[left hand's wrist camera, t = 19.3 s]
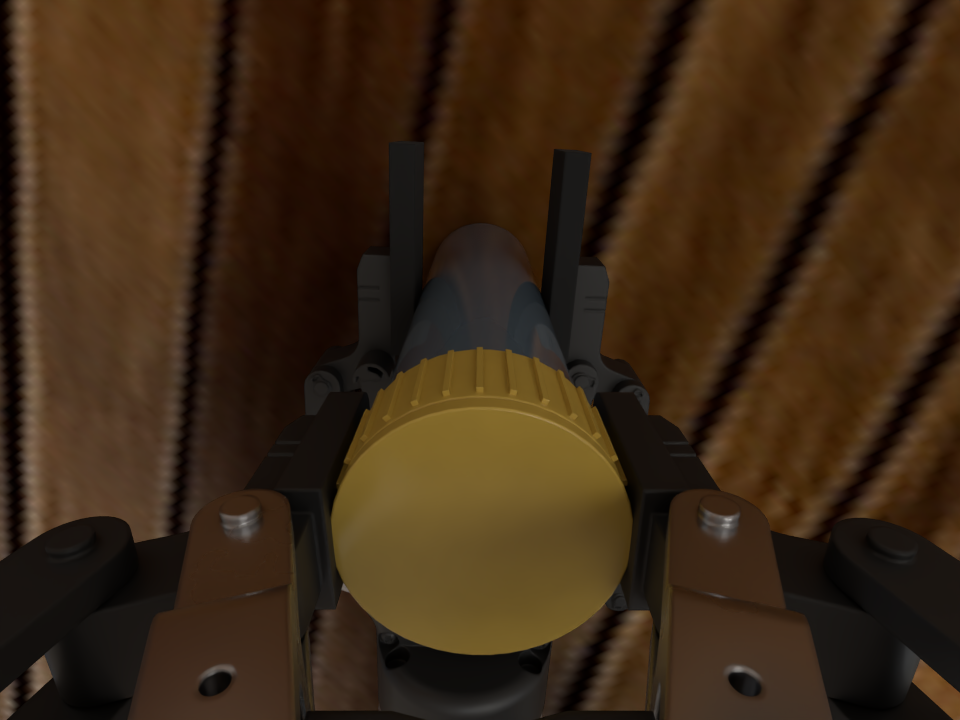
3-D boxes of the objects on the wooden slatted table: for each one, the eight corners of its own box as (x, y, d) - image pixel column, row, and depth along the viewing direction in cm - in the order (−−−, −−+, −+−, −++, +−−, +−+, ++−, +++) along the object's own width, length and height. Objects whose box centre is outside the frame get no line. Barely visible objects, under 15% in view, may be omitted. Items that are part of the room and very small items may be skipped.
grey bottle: (539, 303, 26) (635, 588, 10) (449, 328, 27) (399, 639, 10) (515, 210, 25) (581, 368, 8) (419, 238, 25) (309, 439, 9)
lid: (640, 370, 10) (682, 434, 8) (571, 580, 12) (591, 677, 10) (372, 321, 10) (341, 374, 8) (341, 543, 12) (310, 636, 10)
